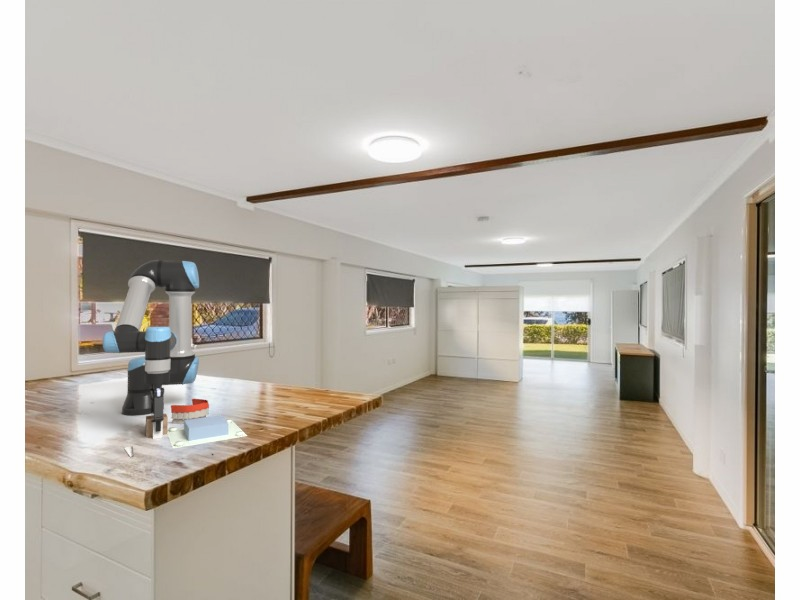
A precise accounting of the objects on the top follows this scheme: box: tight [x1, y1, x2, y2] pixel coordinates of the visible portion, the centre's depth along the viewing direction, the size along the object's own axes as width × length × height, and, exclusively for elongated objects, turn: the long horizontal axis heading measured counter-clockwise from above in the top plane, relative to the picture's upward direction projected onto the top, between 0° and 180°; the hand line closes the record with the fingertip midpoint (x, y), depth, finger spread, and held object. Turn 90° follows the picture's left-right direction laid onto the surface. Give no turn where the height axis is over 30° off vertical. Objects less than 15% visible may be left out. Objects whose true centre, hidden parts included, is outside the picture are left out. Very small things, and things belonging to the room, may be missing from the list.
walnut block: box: [145, 413, 169, 438], centre depth 138 cm, size 6×6×7 cm
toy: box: [170, 398, 210, 425], centre depth 155 cm, size 12×10×8 cm
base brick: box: [183, 414, 229, 441], centre depth 139 cm, size 12×12×4 cm
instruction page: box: [123, 445, 135, 458], centre depth 125 cm, size 10×7×1 cm
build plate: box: [166, 419, 248, 449], centre depth 139 cm, size 22×22×2 cm
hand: (156, 436), depth 138 cm, fingers open, 11 cm apart
